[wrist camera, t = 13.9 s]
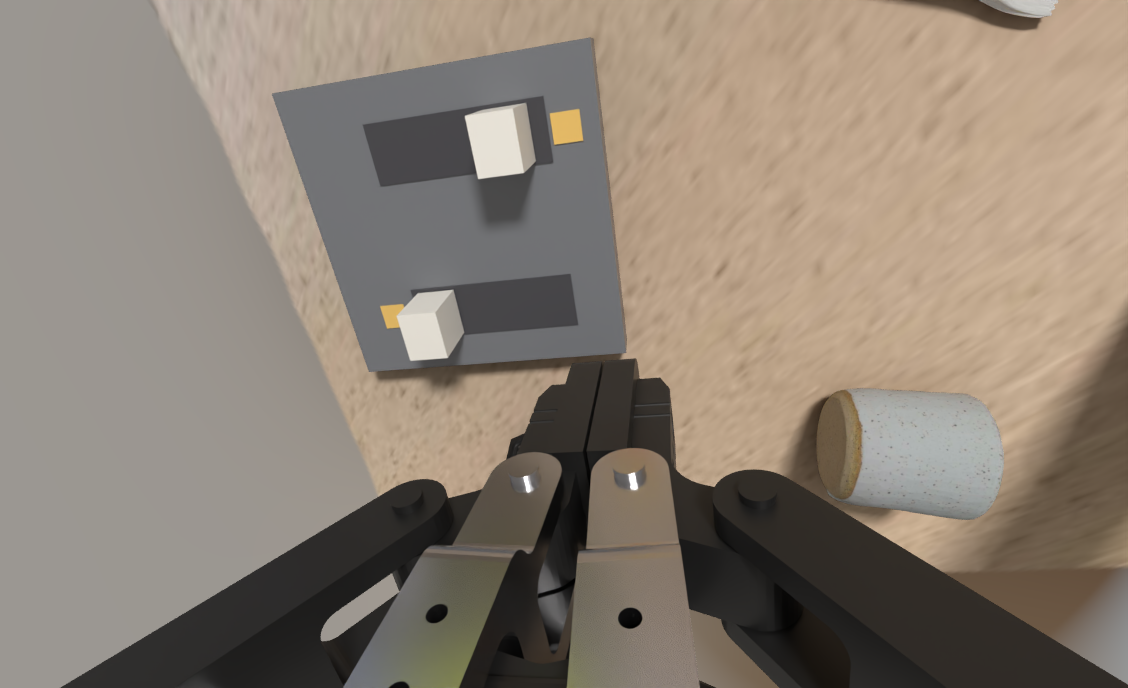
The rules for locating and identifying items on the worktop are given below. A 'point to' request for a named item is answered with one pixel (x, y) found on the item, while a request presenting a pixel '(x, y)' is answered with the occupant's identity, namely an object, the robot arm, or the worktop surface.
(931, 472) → the ceramic mug
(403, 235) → the switch bank
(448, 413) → the worktop surface
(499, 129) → the tab
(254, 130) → the worktop surface
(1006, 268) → the worktop surface
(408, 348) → the tab
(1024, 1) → the food package
